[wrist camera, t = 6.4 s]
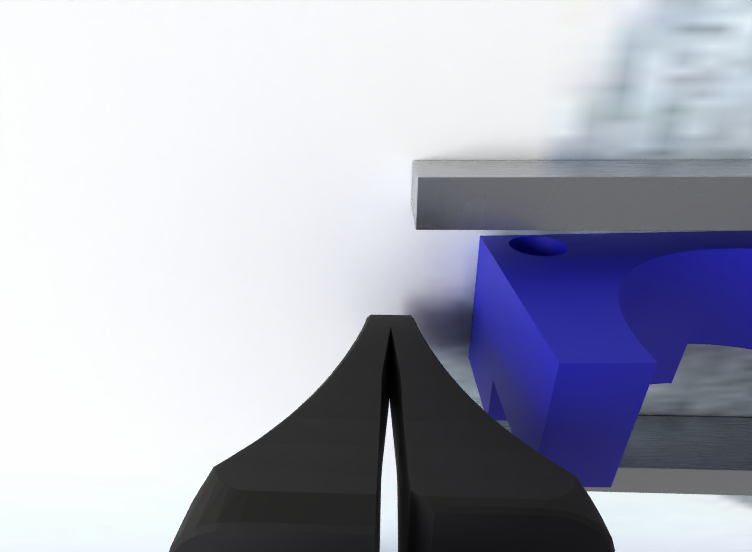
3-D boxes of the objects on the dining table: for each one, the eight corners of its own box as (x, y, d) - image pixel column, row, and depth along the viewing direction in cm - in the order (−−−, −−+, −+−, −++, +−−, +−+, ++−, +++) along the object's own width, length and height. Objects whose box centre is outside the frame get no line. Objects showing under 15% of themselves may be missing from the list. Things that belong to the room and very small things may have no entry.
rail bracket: (810, 442, 14) (877, 498, 12) (403, 433, 15) (405, 486, 13) (1013, 158, 10) (1174, 176, 8) (412, 160, 10) (418, 177, 8)
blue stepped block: (467, 353, 13) (520, 533, 8) (478, 233, 11) (559, 363, 6) (824, 351, 13) (1142, 542, 7) (901, 225, 11) (1414, 359, 5)
